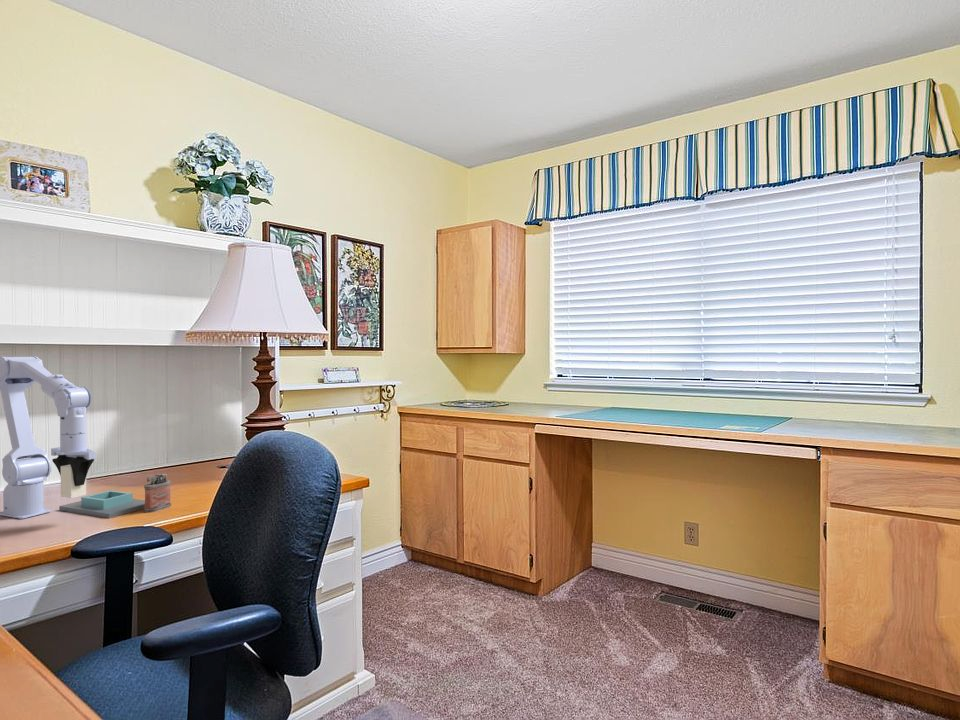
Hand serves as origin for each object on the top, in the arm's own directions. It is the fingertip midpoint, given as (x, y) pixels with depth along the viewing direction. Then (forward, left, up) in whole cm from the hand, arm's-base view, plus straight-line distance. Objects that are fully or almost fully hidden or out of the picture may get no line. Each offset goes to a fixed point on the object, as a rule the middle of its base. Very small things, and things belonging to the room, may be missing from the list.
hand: (73, 484), depth 158 cm
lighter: (+8, +19, -11) cm, 23 cm away
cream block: (0, 0, -3) cm, 3 cm away
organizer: (-6, +14, -10) cm, 18 cm away
